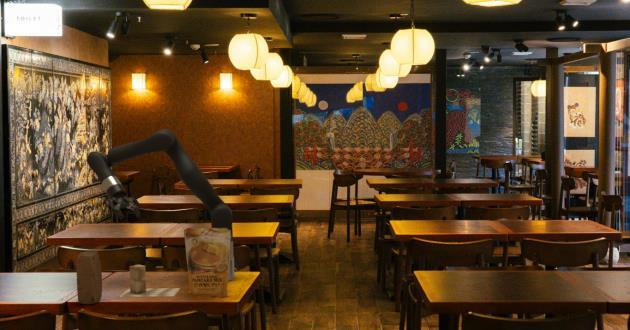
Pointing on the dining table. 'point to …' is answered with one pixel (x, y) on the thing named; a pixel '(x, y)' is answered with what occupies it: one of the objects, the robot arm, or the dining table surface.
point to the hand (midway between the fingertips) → (130, 217)
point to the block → (89, 278)
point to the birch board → (153, 292)
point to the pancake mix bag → (208, 260)
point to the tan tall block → (137, 279)
